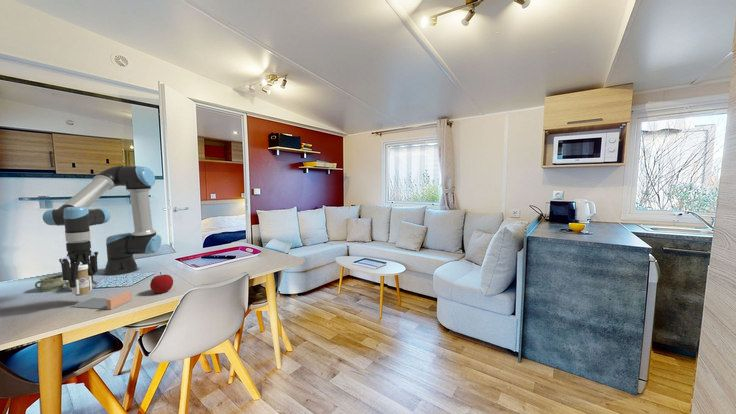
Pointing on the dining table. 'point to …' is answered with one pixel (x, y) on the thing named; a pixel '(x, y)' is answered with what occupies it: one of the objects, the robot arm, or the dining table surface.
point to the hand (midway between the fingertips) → (82, 291)
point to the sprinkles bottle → (83, 279)
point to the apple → (161, 283)
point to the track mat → (105, 302)
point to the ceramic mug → (92, 285)
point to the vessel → (51, 283)
